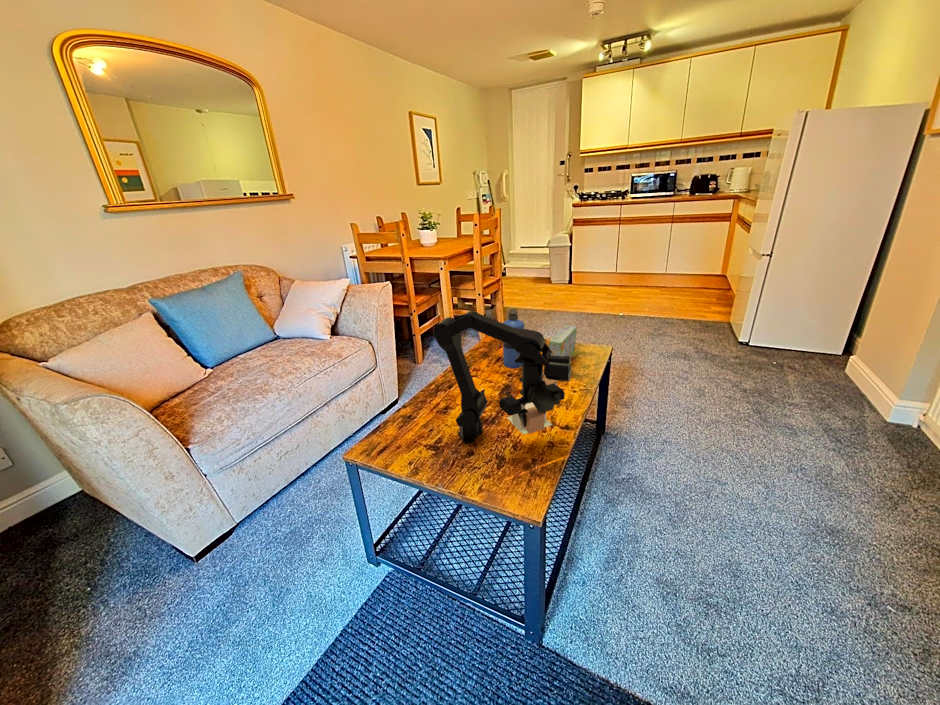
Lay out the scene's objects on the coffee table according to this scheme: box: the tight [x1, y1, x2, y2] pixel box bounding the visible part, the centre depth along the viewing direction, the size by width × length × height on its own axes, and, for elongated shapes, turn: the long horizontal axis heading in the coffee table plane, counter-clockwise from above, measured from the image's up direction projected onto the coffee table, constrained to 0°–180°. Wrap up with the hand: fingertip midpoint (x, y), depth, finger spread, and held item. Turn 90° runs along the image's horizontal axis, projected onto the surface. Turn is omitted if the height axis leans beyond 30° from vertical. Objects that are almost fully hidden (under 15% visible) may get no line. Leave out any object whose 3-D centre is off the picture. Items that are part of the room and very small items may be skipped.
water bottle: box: [502, 308, 525, 369], centre depth 169 cm, size 9×9×25 cm
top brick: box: [521, 407, 545, 434], centre depth 115 cm, size 5×5×5 cm
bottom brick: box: [511, 403, 547, 429], centre depth 129 cm, size 10×5×5 cm, turn 114°
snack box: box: [548, 324, 578, 362], centre depth 167 cm, size 21×6×15 cm, turn 150°
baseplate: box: [506, 415, 553, 435], centre depth 130 cm, size 11×11×1 cm
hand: (532, 423), depth 116 cm, fingers closed on top brick, 5 cm apart
